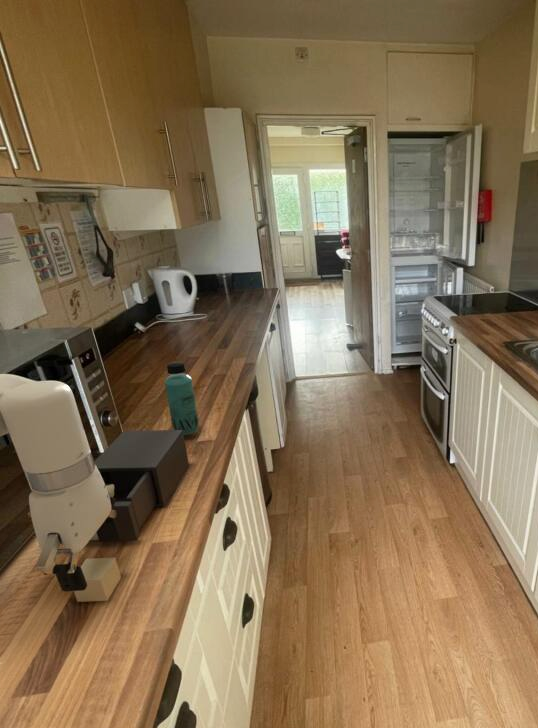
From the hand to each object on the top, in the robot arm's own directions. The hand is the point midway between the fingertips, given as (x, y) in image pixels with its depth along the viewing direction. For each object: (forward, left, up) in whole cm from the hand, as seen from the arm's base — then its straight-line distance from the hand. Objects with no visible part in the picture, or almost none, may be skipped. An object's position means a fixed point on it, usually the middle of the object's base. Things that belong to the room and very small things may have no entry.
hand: (94, 562), depth 66 cm
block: (0, 0, -6) cm, 6 cm away
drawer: (-4, +14, -5) cm, 16 cm away
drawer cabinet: (-4, +27, -6) cm, 28 cm away
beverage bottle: (-3, +49, -6) cm, 50 cm away
